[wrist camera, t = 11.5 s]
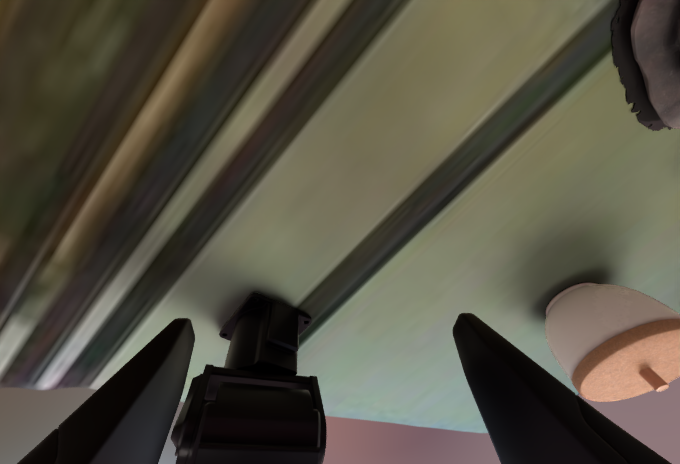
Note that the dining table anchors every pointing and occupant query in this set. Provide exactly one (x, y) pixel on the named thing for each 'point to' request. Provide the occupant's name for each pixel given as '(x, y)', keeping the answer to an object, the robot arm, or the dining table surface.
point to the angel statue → (650, 59)
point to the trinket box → (613, 340)
